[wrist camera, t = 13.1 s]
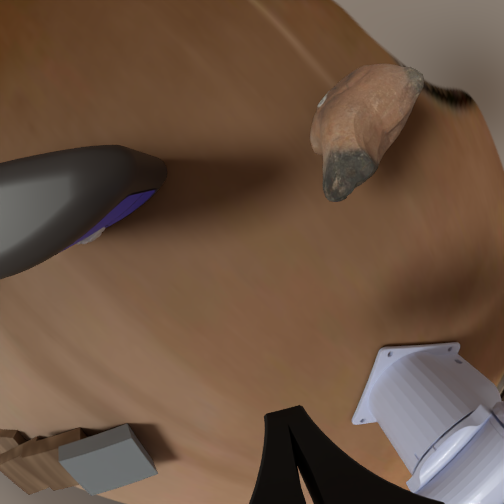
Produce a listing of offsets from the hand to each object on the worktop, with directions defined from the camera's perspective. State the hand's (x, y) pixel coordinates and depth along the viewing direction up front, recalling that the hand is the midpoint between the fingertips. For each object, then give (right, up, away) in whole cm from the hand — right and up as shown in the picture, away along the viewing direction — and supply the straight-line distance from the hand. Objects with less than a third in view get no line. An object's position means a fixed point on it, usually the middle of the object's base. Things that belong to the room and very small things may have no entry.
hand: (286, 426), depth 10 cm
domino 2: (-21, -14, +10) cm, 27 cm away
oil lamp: (+3, +14, +8) cm, 16 cm away
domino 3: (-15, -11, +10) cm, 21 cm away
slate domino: (-10, -10, +10) cm, 18 cm away
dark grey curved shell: (-14, +11, +6) cm, 19 cm away
